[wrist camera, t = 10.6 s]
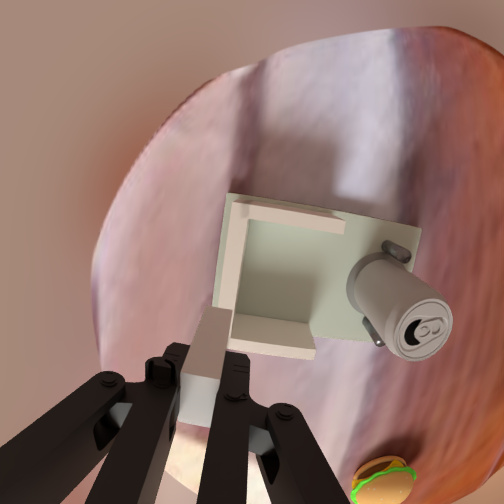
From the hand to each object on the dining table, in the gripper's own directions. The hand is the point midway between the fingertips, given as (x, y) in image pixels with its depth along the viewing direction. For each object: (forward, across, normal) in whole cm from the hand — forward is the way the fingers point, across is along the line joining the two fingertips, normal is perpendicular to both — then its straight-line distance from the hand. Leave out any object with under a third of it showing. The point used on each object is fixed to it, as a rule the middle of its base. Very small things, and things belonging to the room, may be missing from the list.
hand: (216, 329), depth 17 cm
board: (+18, -9, 0) cm, 20 cm away
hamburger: (+17, -31, +35) cm, 50 cm away
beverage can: (+16, -16, 0) cm, 23 cm away
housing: (+16, -4, 0) cm, 17 cm away
